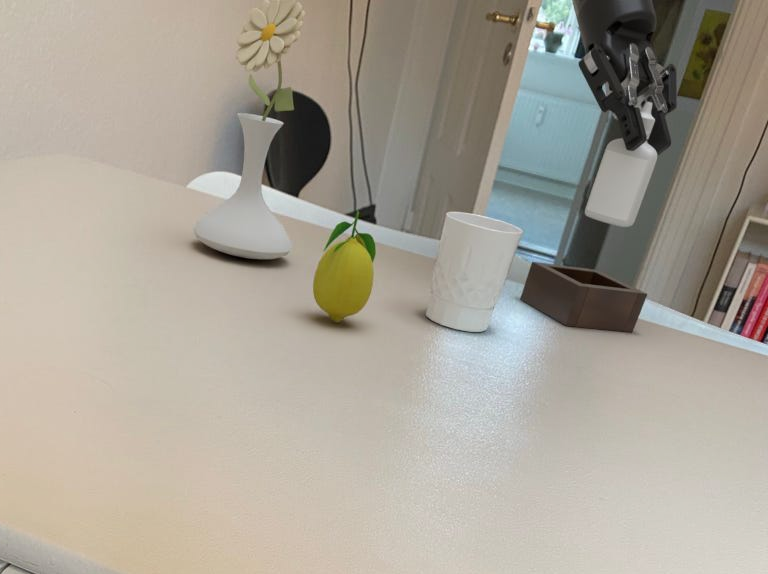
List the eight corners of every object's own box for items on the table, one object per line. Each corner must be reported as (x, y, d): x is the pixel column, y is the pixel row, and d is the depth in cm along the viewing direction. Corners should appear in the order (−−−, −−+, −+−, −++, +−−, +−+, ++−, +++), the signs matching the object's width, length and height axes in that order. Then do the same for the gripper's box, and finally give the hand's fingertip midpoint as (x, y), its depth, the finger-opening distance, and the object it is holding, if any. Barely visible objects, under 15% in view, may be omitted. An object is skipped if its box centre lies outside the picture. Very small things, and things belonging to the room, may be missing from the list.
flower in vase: (181, 235, 106) (209, -25, 92) (272, 246, 110) (313, -1, 96) (208, 266, 97) (245, -19, 83) (307, 277, 101) (358, 7, 87)
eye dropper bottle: (608, 226, 101) (651, 103, 94) (578, 213, 105) (617, 95, 98) (637, 229, 103) (682, 109, 96) (607, 216, 107) (647, 100, 100)
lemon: (308, 328, 84) (330, 212, 78) (294, 309, 89) (315, 198, 83) (375, 336, 86) (402, 224, 80) (358, 317, 90) (383, 210, 85)
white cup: (409, 306, 98) (434, 207, 92) (473, 314, 101) (501, 218, 95) (437, 330, 92) (466, 225, 86) (504, 338, 95) (537, 236, 89)
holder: (584, 306, 116) (597, 269, 113) (632, 332, 108) (647, 293, 106) (519, 299, 112) (531, 261, 109) (565, 326, 104) (579, 285, 102)
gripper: (594, -41, 93) (635, 117, 92) (681, -12, 100) (720, 134, 99) (541, 15, 99) (578, 163, 98) (626, 38, 106) (662, 176, 105)
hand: (649, 147), depth 98 cm, fingers closed on eye dropper bottle, 3 cm apart
